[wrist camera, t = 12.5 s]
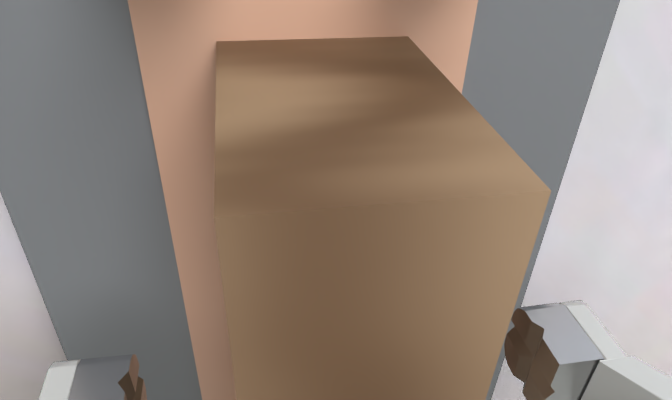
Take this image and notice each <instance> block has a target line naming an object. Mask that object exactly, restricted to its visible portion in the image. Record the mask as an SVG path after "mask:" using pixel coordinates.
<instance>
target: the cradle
mask: <svg viewBox="0 0 672 400" xmlns="http://www.w3.org/2000/svg"><path fill="white" fill-rule="evenodd" d="M619 2H620V0H0V192H1V194H2V197H3V199H4V202H5V205H6V207H7V210H8V212H9V215H10V217H11V220H12V222H13V225H14V227H15V230H16V232H17V235H18V237H19V240H20V242H21V245H22V247H23V250H24V252H25V255H26V257H27V260H28V262H29V265H30V267H31V270H32V272H33V275H34V277H35V280H36V282H37V285H38V287H39V290H40V293H41V295H42V298H43V300H44V303H45V305H46V308H47V310H48V313H49V315H50V318H51V320H52V323H53V325H54V328H55V330H56V333H57V335H58V338H59V340H60V343H61V345H62V348H63V350H64V353H65V355H66V358H67V360H68V361H70V360H79V359H88V358H98V357H109V356H120V355H130V354H136V356H137V359H138V362H139V372H138V376H139V377H140V378H142V379H144V383H145V387H146V395H147V400H237V398H236V390H235V382H234V374H233V366H232V358H231V350H230V342H229V334H228V326H227V318H226V310H225V302H224V294H223V286H222V278H221V270H220V262H219V254H218V246H217V238H216V230H215V222H214V181H215V108H216V41H248V40H287V39H325V38H363V37H401V36H408V37H409V38H410V39H411V40H412V41H413V42H414V43H415V44H416V45H417V47H418V48H419V49H420V50H421V51H422V52H423V53H424V54H425V55H426V56H427V57H428V58H429V59H430V61H431V62H432V63H433V64H434V65H435V66H436V67H437V68H438V69H439V70H440V71H441V72H442V73H443V75H444V76H445V77H446V78H447V79H448V80H449V81H450V82H451V83H452V84H453V85H454V86H455V87H456V89H457V90H458V91H459V92H460V93H461V94H462V95H463V96H464V97H465V98H466V99H467V100H468V101H469V103H470V104H471V105H472V106H473V107H474V108H475V109H476V110H477V111H478V112H479V113H480V114H481V116H482V117H483V118H484V119H485V120H486V121H487V122H488V123H489V124H490V125H491V126H492V127H493V128H494V130H495V131H496V132H497V133H498V134H499V135H500V136H501V137H502V138H503V139H504V140H505V141H506V142H507V144H508V145H509V146H510V147H511V148H512V149H513V150H514V151H515V152H516V153H517V154H518V155H519V156H520V158H521V159H522V160H523V161H524V162H525V163H526V164H527V165H528V166H529V167H530V168H531V169H532V170H533V172H534V173H535V174H536V175H537V176H538V177H539V178H540V179H541V180H542V181H543V182H544V183H545V184H546V186H547V187H548V188H549V189H550V190H551V193H550V196H549V200H548V203H547V206H546V209H545V212H544V215H543V219H542V222H541V225H540V228H539V231H538V234H537V238H536V241H535V244H534V247H533V250H532V253H531V257H530V260H529V263H528V266H527V269H526V273H525V276H524V279H523V282H522V285H521V288H520V292H519V295H518V298H517V301H516V304H515V307H514V311H515V310H516V309H517V308H521V305H522V302H523V299H524V295H525V292H526V289H527V286H528V283H529V280H530V277H531V274H532V271H533V268H534V265H535V261H536V258H537V255H538V252H539V249H540V246H541V243H542V240H543V237H544V234H545V231H546V227H547V224H548V221H549V218H550V215H551V212H552V209H553V206H554V203H555V200H556V197H557V193H558V190H559V187H560V184H561V181H562V178H563V175H564V172H565V169H566V166H567V163H568V159H569V156H570V153H571V150H572V147H573V144H574V141H575V138H576V135H577V132H578V129H579V125H580V122H581V119H582V116H583V113H584V110H585V107H586V104H587V101H588V98H589V95H590V91H591V88H592V85H593V82H594V79H595V76H596V73H597V70H598V67H599V64H600V61H601V57H602V54H603V51H604V48H605V45H606V42H607V39H608V36H609V33H610V30H611V27H612V23H613V20H614V17H615V14H616V11H617V8H618V5H619ZM514 311H513V313H514ZM512 316H513V314H512ZM511 319H512V317H511ZM513 327H514V324H513V322H512V321H511V320H510V323H509V326H508V330H507V333H508V332H509V331H510V330H511V329H512V328H513ZM507 333H506V335H507ZM505 338H506V336H505ZM504 342H505V339H504ZM504 342H503V345H502V349H501V352H500V355H499V358H498V361H497V364H496V368H495V371H494V374H493V377H492V380H491V384H490V387H489V390H488V393H487V396H486V399H485V400H491V397H492V394H493V391H494V388H495V385H496V382H497V379H498V376H499V373H500V370H501V367H502V363H503V360H504V357H505V349H504Z"/></svg>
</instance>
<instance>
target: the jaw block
mask: <svg viewBox="0 0 672 400" xmlns="http://www.w3.org/2000/svg"><path fill="white" fill-rule="evenodd" d="M550 193H551V190H550V189H549V188H548V187H547V186H546V184H545V183H544V182H543V181H542V180H541V179H540V178H539V177H538V176H537V175H536V174H535V173H534V172H533V170H532V169H531V168H530V167H529V166H528V165H527V164H526V163H525V162H524V161H523V160H522V159H521V158H520V156H519V155H518V154H517V153H516V152H515V151H514V150H513V149H512V148H511V147H510V146H509V145H508V144H507V142H506V141H505V140H504V139H503V138H502V137H501V136H500V135H499V134H498V133H497V132H496V131H495V130H494V128H493V127H492V126H491V125H490V124H489V123H488V122H487V121H486V120H485V119H484V118H483V117H482V116H481V114H480V113H479V112H478V111H477V110H476V109H475V108H474V107H473V106H472V105H471V104H470V103H469V101H468V100H467V99H466V98H465V97H464V96H463V95H462V94H461V93H460V92H459V91H458V90H457V89H456V87H455V86H454V85H453V84H452V83H451V82H450V81H449V80H448V79H447V78H446V77H445V76H444V75H443V73H442V72H441V71H440V70H439V69H438V68H437V67H436V66H435V65H434V64H433V63H432V62H431V61H430V59H429V58H428V57H427V56H426V55H425V54H424V53H423V52H422V51H421V50H420V49H419V48H418V47H417V45H416V44H415V43H414V42H413V41H412V40H411V39H410V38H409V37H408V36H401V37H363V38H325V39H287V40H248V41H216V108H215V181H214V222H215V230H216V238H217V246H218V254H219V262H220V270H221V278H222V286H223V294H224V302H225V310H226V318H227V326H228V334H229V342H230V350H231V358H232V366H233V374H234V382H235V390H236V398H237V400H485V399H486V396H487V393H488V390H489V387H490V384H491V380H492V377H493V374H494V371H495V368H496V364H497V361H498V358H499V355H500V352H501V349H502V345H503V342H504V339H505V336H506V333H507V330H508V326H509V323H510V320H511V317H512V314H513V311H514V307H515V304H516V301H517V298H518V295H519V292H520V288H521V285H522V282H523V279H524V276H525V273H526V269H527V266H528V263H529V260H530V257H531V253H532V250H533V247H534V244H535V241H536V238H537V234H538V231H539V228H540V225H541V222H542V219H543V215H544V212H545V209H546V206H547V203H548V200H549V196H550Z"/></svg>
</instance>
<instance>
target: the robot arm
mask: <svg viewBox="0 0 672 400" xmlns="http://www.w3.org/2000/svg"><path fill="white" fill-rule="evenodd" d="M511 321H512V322H513V324H514V327H513V328H512V329H511V330H510V331H509V332H508V333H507V335H506V338H505V342H504V349H505V357H506V360H507V363H508V366H509V368H510V370H511V372H512V374H513V375H514V376H516V377H517V378H518V379H520V380H521V381H523V382H524V387H523V394H524V396H525V398H526V399H527V400H672V377H670V376H669V375H667V374H665V373H663V372H662V371H660V370H658V369H656V368H655V367H653V366H651V365H649V364H648V363H646V362H644V361H642V360H641V359H639V358H637V357H635V356H627V355H626V353H625V352H624V351H623V350H622V348H621V347H620V346H619V345H618V343H617V342H616V341H615V339H614V338H613V337H612V336H611V334H610V333H609V332H608V331H607V329H606V328H605V327H604V325H603V324H602V323H601V322H600V320H599V319H598V318H597V317H596V315H595V314H594V313H593V311H592V310H591V309H590V308H589V306H588V305H587V304H586V303H584V302H583V301H581V300H579V301H570V302H562V303H551V304H543V305H536V306H528V307H521V308H517V309H516V310H515V311H514V313H513V316H512V319H511ZM138 372H139V362H138V359H137V356H136V354H130V355H120V356H109V357H98V358H88V359H79V360H70V361H60V362H53V364H52V365H51V366H50V368H49V369H48V371H47V374H46V377H45V380H44V383H43V387H42V390H41V393H40V396H39V399H38V400H147V395H146V387H145V383H144V379H142V378H140V377H139V376H138Z"/></svg>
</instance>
